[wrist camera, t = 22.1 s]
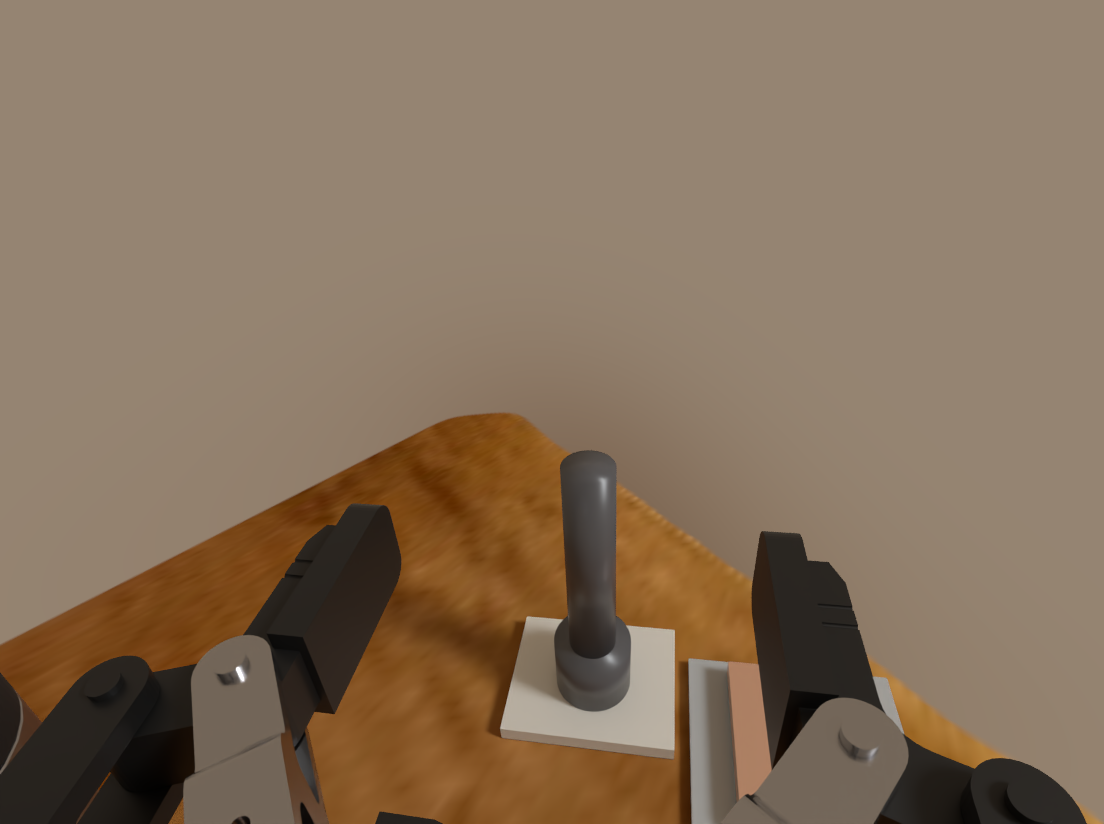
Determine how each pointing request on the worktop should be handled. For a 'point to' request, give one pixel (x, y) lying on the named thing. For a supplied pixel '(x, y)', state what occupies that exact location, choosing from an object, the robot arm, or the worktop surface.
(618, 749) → the board
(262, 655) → the robot arm
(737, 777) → the tile
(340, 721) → the worktop surface
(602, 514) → the grey pestle
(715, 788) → the mat
